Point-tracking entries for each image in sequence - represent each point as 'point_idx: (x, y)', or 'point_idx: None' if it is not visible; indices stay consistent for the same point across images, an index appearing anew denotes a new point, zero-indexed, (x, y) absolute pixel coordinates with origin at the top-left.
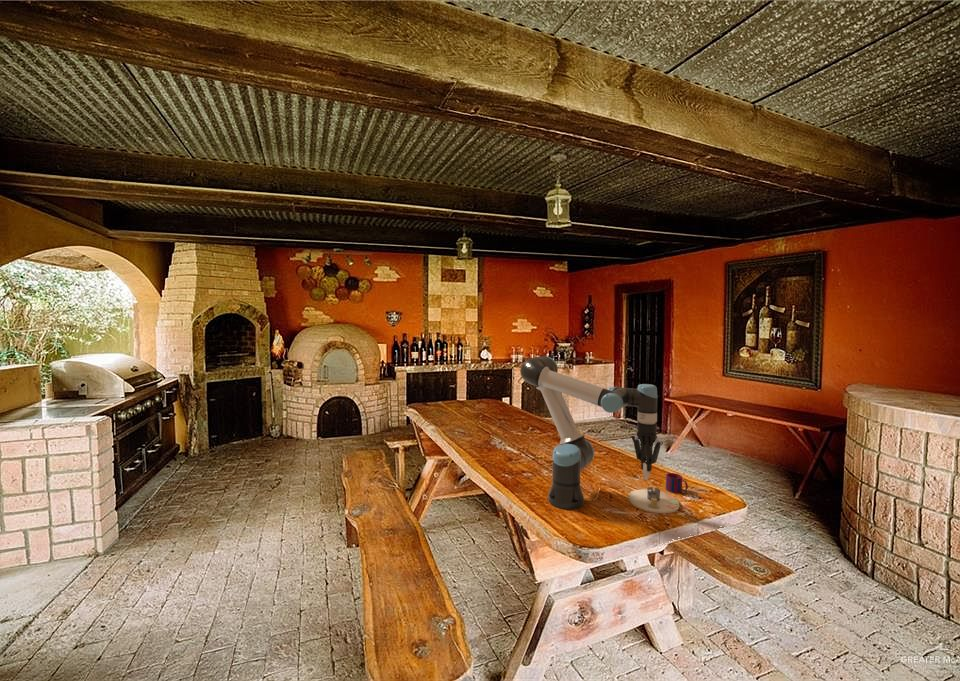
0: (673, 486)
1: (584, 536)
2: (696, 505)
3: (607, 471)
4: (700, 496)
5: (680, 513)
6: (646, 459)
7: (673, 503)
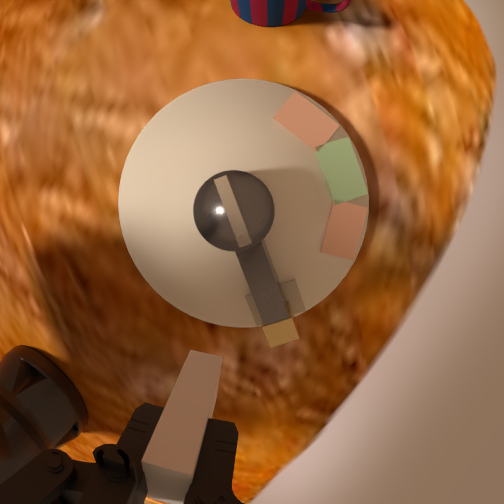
0: (279, 10)
1: None
2: (407, 104)
3: (4, 62)
4: (382, 7)
5: (379, 239)
6: (120, 465)
7: (344, 197)
